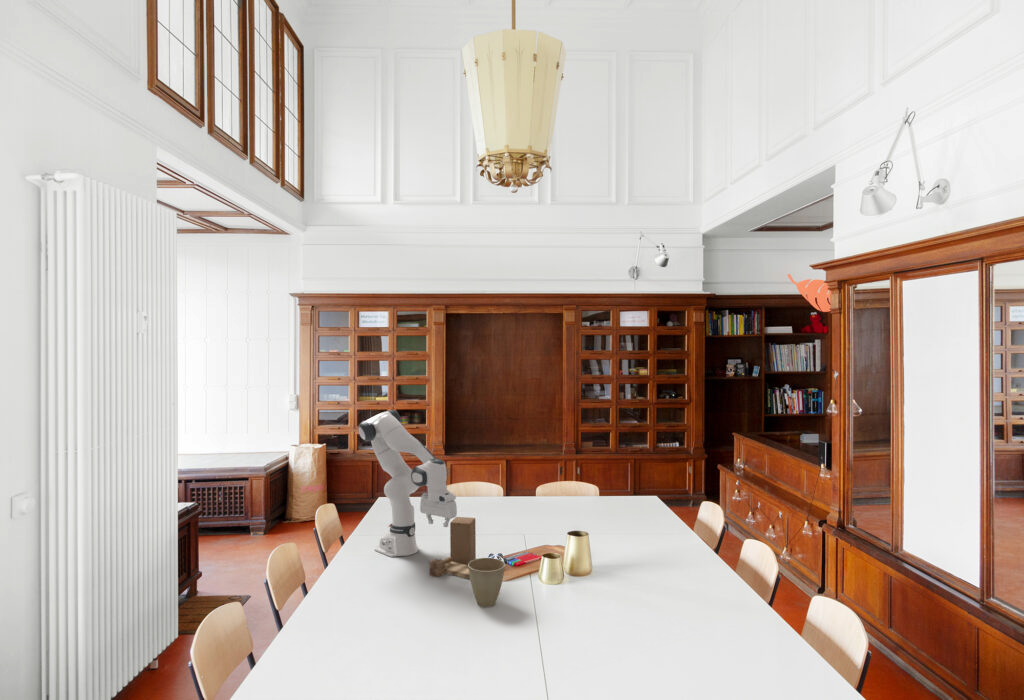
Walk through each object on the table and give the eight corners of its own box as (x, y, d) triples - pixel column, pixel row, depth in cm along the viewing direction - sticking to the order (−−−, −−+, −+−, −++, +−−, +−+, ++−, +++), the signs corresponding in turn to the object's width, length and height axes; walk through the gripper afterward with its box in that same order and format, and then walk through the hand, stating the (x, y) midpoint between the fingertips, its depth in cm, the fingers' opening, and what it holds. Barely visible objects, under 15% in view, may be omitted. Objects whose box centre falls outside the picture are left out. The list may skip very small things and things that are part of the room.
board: (436, 570, 279) (436, 566, 279) (448, 564, 286) (448, 560, 286) (478, 581, 266) (478, 577, 266) (490, 574, 274) (490, 570, 274)
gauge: (429, 575, 274) (429, 561, 274) (446, 566, 284) (446, 553, 284) (438, 577, 271) (437, 564, 271) (455, 568, 282) (455, 555, 282)
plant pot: (477, 614, 233) (477, 573, 233) (462, 600, 247) (462, 561, 246) (511, 606, 240) (511, 566, 240) (495, 593, 253) (495, 555, 253)
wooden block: (470, 565, 285) (470, 523, 285) (450, 564, 287) (449, 522, 287) (475, 558, 295) (475, 517, 295) (456, 557, 297) (456, 516, 297)
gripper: (416, 493, 279) (417, 523, 279) (448, 499, 267) (449, 530, 267) (426, 490, 284) (427, 520, 284) (458, 496, 272) (459, 526, 272)
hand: (438, 525), depth 275 cm, fingers open, 8 cm apart
